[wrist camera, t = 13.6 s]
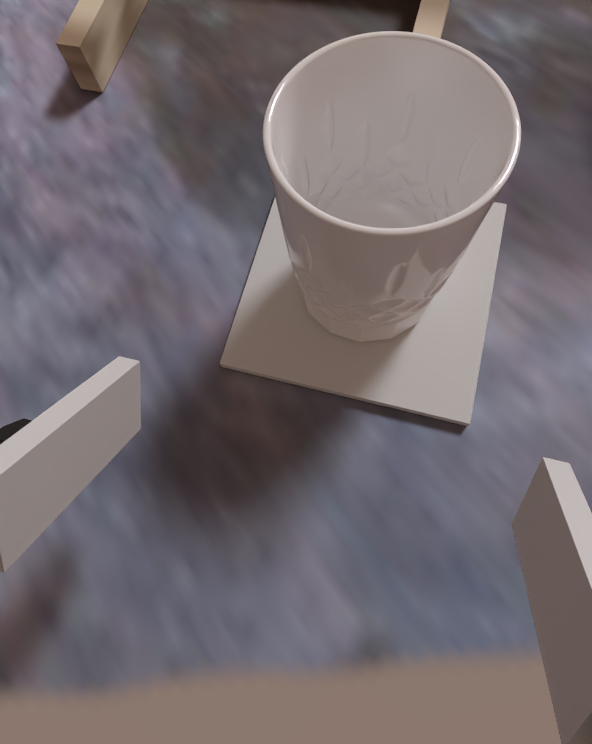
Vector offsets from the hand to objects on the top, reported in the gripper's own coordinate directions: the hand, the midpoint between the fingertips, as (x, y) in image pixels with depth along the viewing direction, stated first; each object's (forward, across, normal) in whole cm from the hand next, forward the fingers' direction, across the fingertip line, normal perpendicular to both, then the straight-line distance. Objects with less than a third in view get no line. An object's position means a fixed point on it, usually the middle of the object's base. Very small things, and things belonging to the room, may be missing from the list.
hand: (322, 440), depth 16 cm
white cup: (+11, 0, +2) cm, 11 cm away
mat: (+12, 0, +2) cm, 12 cm away
